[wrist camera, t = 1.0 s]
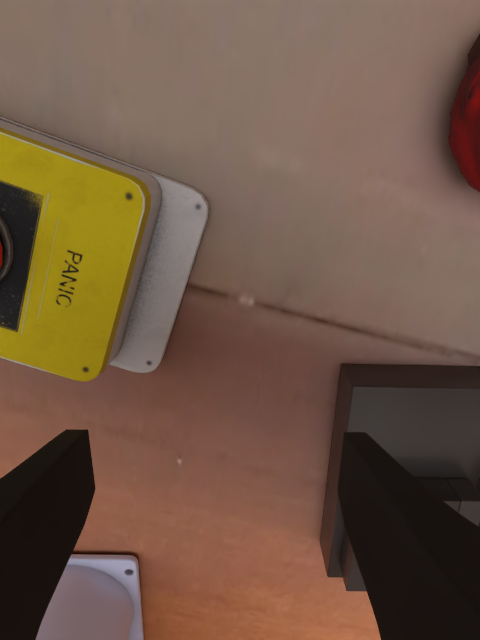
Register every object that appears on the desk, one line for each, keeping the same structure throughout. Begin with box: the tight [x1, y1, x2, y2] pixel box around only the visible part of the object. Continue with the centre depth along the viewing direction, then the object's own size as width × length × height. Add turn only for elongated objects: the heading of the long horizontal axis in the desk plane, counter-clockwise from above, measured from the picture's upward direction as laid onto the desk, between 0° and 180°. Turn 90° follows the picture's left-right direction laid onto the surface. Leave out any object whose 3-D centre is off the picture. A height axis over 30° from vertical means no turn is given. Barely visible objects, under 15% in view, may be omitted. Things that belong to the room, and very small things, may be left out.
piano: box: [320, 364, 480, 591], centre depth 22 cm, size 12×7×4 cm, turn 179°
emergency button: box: [0, 116, 209, 381], centre depth 17 cm, size 9×4×15 cm
